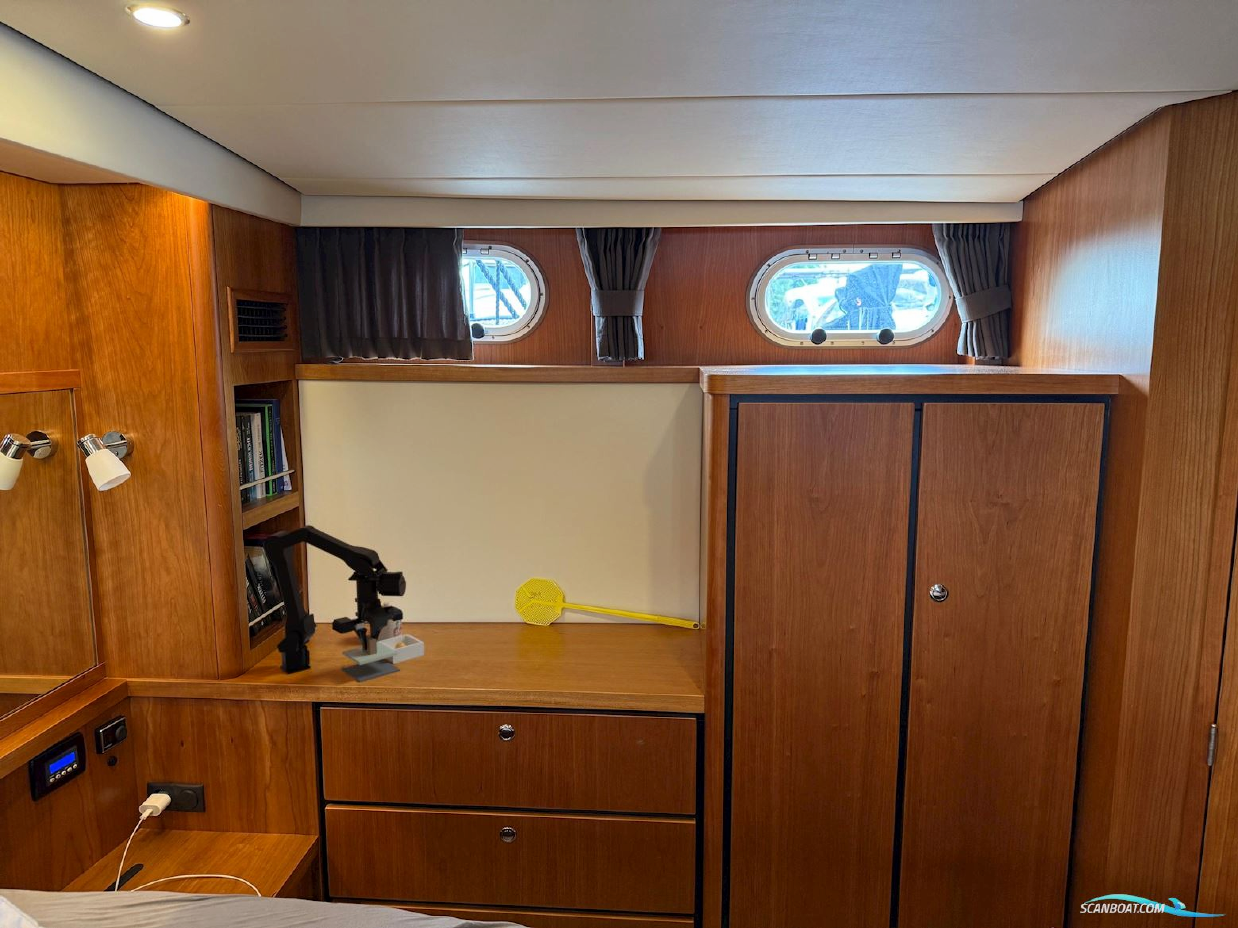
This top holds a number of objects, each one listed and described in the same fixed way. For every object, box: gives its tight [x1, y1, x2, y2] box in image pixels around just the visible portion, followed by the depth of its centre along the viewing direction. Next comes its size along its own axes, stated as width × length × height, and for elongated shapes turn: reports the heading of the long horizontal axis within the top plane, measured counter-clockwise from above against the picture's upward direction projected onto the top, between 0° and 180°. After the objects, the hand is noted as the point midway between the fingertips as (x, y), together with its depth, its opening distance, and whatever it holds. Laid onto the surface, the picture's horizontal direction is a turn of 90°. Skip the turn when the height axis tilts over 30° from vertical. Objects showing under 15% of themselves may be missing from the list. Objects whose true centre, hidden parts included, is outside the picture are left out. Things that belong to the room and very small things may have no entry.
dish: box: [377, 633, 425, 665], centre depth 234 cm, size 10×10×4 cm
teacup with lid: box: [377, 601, 403, 642], centre depth 249 cm, size 12×9×12 cm
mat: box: [340, 659, 401, 683], centre depth 222 cm, size 12×12×1 cm
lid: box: [342, 634, 397, 665], centre depth 222 cm, size 11×11×5 cm
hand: (369, 648), depth 222 cm, fingers closed on lid
